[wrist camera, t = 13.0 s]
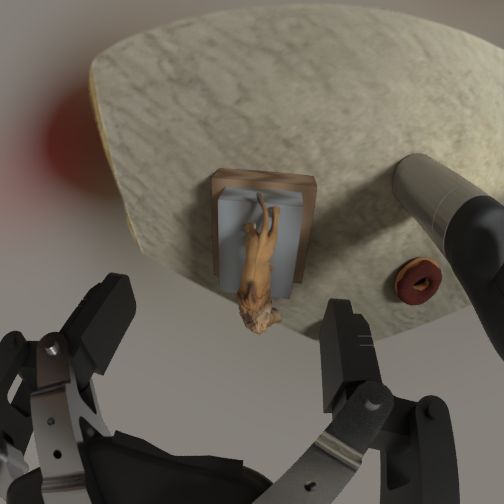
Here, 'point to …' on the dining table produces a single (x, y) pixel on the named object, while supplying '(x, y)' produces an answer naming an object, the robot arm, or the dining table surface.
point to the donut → (412, 275)
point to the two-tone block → (249, 210)
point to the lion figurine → (259, 273)
